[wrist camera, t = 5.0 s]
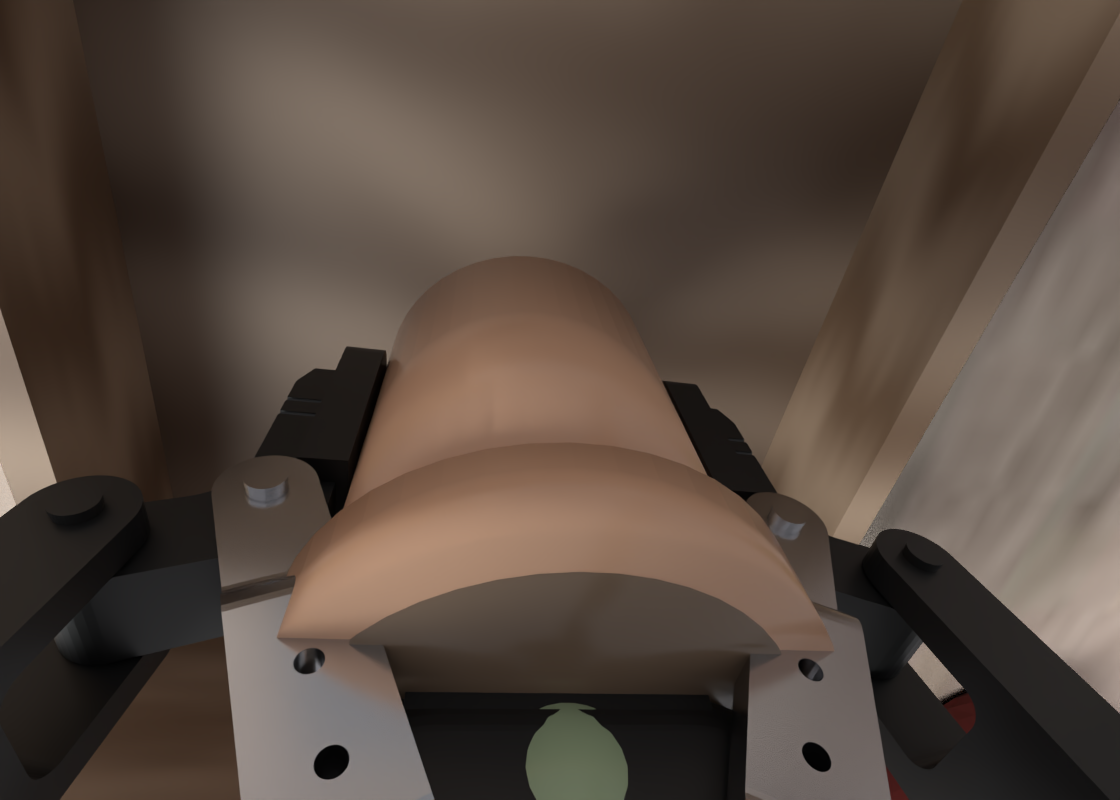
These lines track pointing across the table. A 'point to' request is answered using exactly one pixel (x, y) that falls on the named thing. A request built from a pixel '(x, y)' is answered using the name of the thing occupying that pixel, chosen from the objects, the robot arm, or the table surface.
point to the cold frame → (508, 227)
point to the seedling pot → (543, 522)
